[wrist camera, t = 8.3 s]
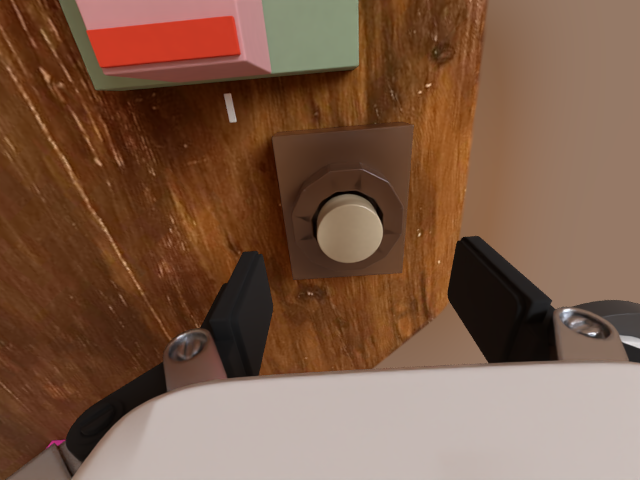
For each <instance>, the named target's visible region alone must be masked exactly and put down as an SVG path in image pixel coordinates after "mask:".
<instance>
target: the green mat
mask: <svg viewBox="0 0 640 480" xmlns="http://www.w3.org/2000/svg"><path fill="white" fill-rule="evenodd" d="M59 2H60V5H61V7H62V10H63V12H64V15H65V17H66V20H67V22H68V24H69V27H70V29H71V32H72V34H73V37H74V39H75V42H76V44H77V46H78V49H79V51H80V54H81V56H82V59H83V61H84V64H85V66H86V68H87V71H88V73H89V76H90V78H91V81H92V83H93V86H94V88H95V90H107V91H124V90H135V89H146V88H157V87H168V86H179V85H190V84H201V83H212V82H223V81H234V80H245V79H256V78H267V77H278V76H289V75H300V74H311V73H322V72H333V71H344V70H354V69H355V68H356V67H358V66H359V36H358V0H262V7H263V14H264V21H265V28H266V35H267V43H268V50H269V57H270V64H271V71H272V72H271V74H265V75H254V76H243V77H232V78H222V79H211V80H200V81H190V82H179V83H178V82H168V81H158V80H148V79H137V78H127V77H117V76H107V75H105V74H104V73H103V71H102V68H101V67H100V66H99V63H98V61H97V58H96V55H95V53H94V50H93V48H92V45H91V43H90V40H89V37H88V35H87V32H86V31H87V29H86V27H85V24H84V22H83V19H82V16H81V14H80V11H79V9H78V6H77V4H76V1H75V0H59ZM224 98H225V103H226V107H227V112H228V117H229V121H230V123H231V122H237V120H236V116H235V111H234V106H233V101H232V96H231V93H229V94H224Z"/></svg>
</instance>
